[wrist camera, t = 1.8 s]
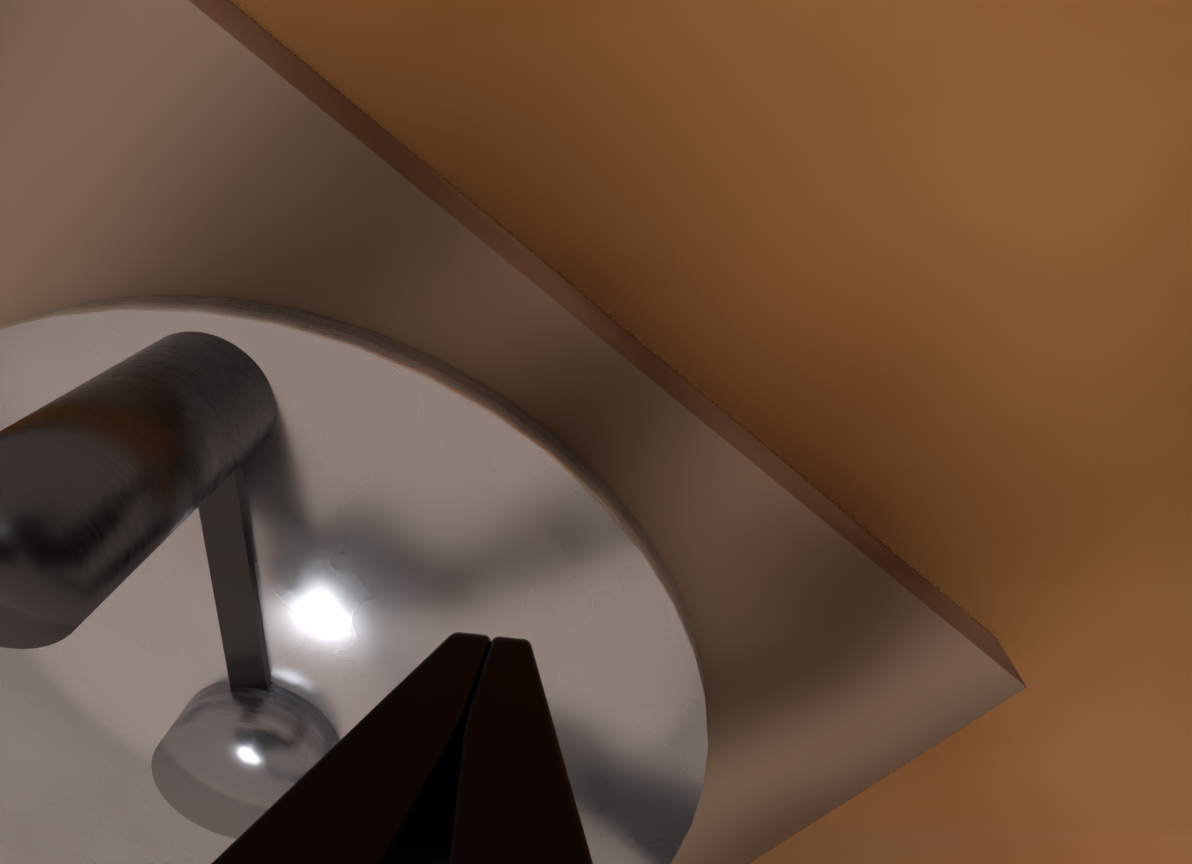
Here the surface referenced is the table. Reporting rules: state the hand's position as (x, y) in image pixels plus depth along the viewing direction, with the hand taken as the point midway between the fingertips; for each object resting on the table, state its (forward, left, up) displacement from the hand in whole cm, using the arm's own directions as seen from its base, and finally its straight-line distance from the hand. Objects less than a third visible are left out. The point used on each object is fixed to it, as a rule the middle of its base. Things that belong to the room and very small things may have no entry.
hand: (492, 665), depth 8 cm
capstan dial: (0, +10, -7) cm, 12 cm away
